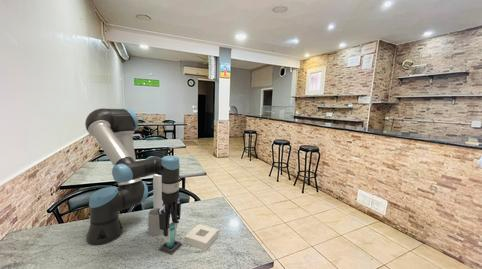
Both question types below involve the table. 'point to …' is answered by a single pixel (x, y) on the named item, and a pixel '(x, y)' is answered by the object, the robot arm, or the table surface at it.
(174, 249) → the grey square socket
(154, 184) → the tall pillar cylinder
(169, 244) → the plug
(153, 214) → the mug
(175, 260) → the table surface
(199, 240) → the port
